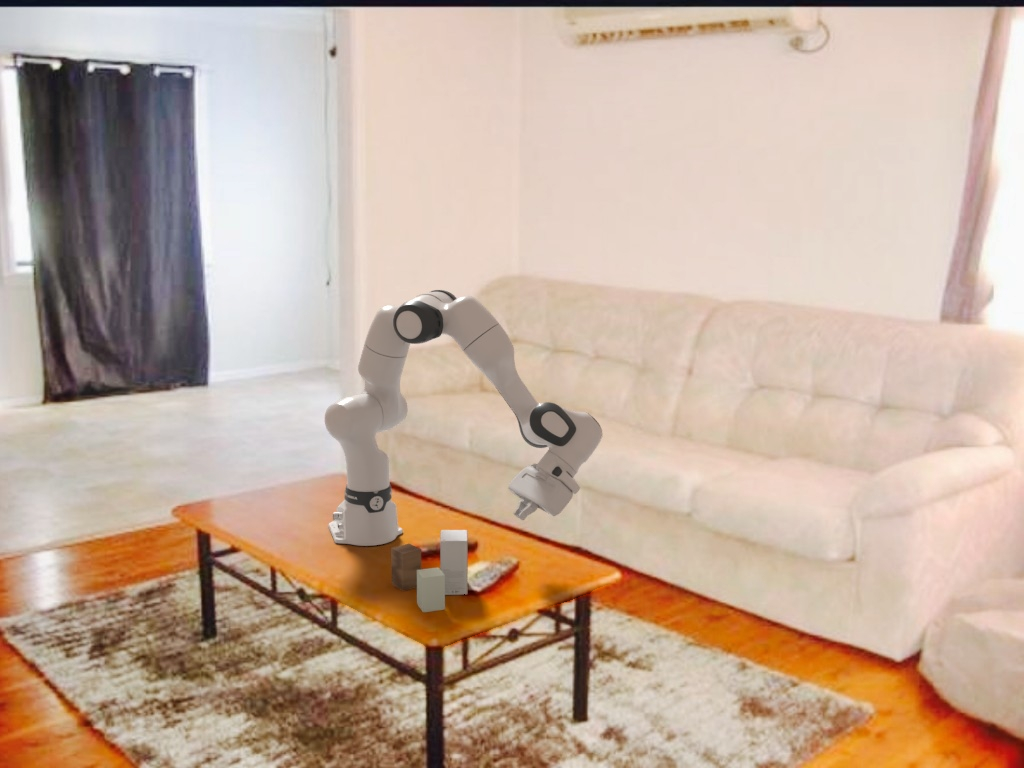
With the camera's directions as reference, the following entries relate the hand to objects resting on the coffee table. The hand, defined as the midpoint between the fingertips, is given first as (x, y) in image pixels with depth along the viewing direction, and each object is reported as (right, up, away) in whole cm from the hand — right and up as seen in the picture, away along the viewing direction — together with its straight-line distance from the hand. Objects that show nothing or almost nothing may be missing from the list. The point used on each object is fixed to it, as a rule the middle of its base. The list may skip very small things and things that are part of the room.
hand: (517, 517), depth 245 cm
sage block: (-19, -18, -15) cm, 31 cm away
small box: (-15, -16, -5) cm, 22 cm away
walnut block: (-26, -15, -3) cm, 30 cm away
